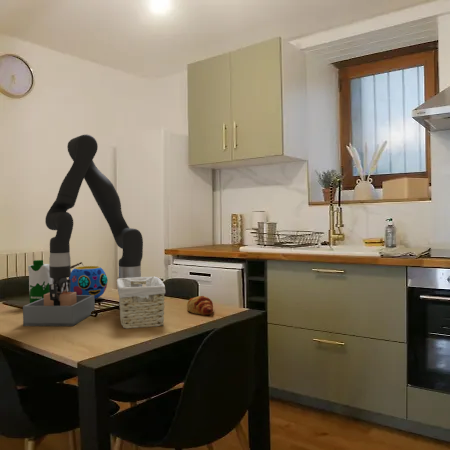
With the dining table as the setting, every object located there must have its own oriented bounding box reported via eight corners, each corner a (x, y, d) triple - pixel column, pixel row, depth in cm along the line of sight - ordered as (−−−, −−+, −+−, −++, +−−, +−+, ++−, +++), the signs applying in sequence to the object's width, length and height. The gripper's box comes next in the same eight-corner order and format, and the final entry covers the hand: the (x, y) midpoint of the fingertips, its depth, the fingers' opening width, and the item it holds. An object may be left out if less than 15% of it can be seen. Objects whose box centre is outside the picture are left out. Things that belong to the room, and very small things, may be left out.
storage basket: (167, 327, 156) (166, 284, 156) (118, 330, 152) (118, 287, 151) (158, 312, 179) (158, 275, 179) (117, 315, 175) (116, 277, 175)
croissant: (184, 316, 189) (175, 300, 187) (203, 302, 193) (195, 286, 191) (204, 325, 170) (195, 308, 168) (225, 310, 174) (216, 293, 172)
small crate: (76, 310, 172) (76, 292, 172) (70, 313, 167) (70, 294, 166) (51, 310, 173) (50, 292, 173) (44, 313, 167) (43, 294, 167)
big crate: (94, 312, 180) (94, 295, 180) (72, 326, 158) (72, 306, 158) (50, 312, 181) (50, 295, 181) (23, 326, 159) (22, 306, 159)
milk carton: (26, 308, 191) (25, 261, 190) (37, 304, 200) (36, 259, 199) (46, 308, 190) (45, 261, 190) (56, 304, 199) (55, 258, 199)
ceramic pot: (76, 304, 197) (76, 270, 196) (62, 299, 210) (61, 267, 210) (114, 299, 208) (113, 267, 207) (98, 294, 221) (97, 264, 221)
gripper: (61, 266, 162) (62, 313, 162) (77, 262, 176) (77, 305, 177) (41, 266, 163) (42, 313, 163) (58, 262, 177) (59, 305, 177)
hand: (60, 308), depth 170 cm, fingers closed on small crate, 6 cm apart
